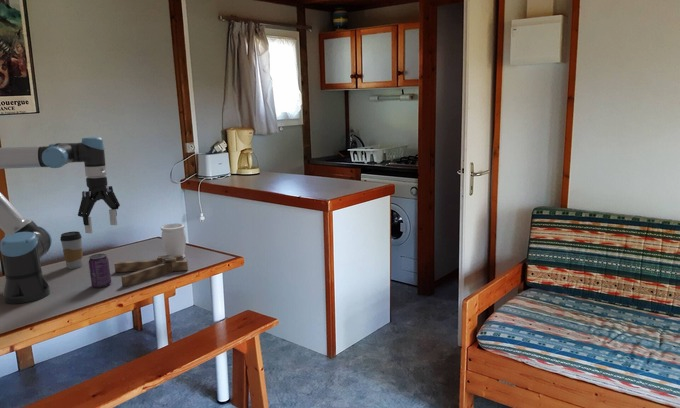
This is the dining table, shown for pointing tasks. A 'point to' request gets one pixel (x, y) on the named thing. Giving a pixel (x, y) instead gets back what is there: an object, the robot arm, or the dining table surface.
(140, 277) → the tongs base
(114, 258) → the dining table surface
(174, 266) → the tong arm
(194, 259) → the dining table surface
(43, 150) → the robot arm
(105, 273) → the beverage can
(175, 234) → the jar
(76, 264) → the coffee cup
